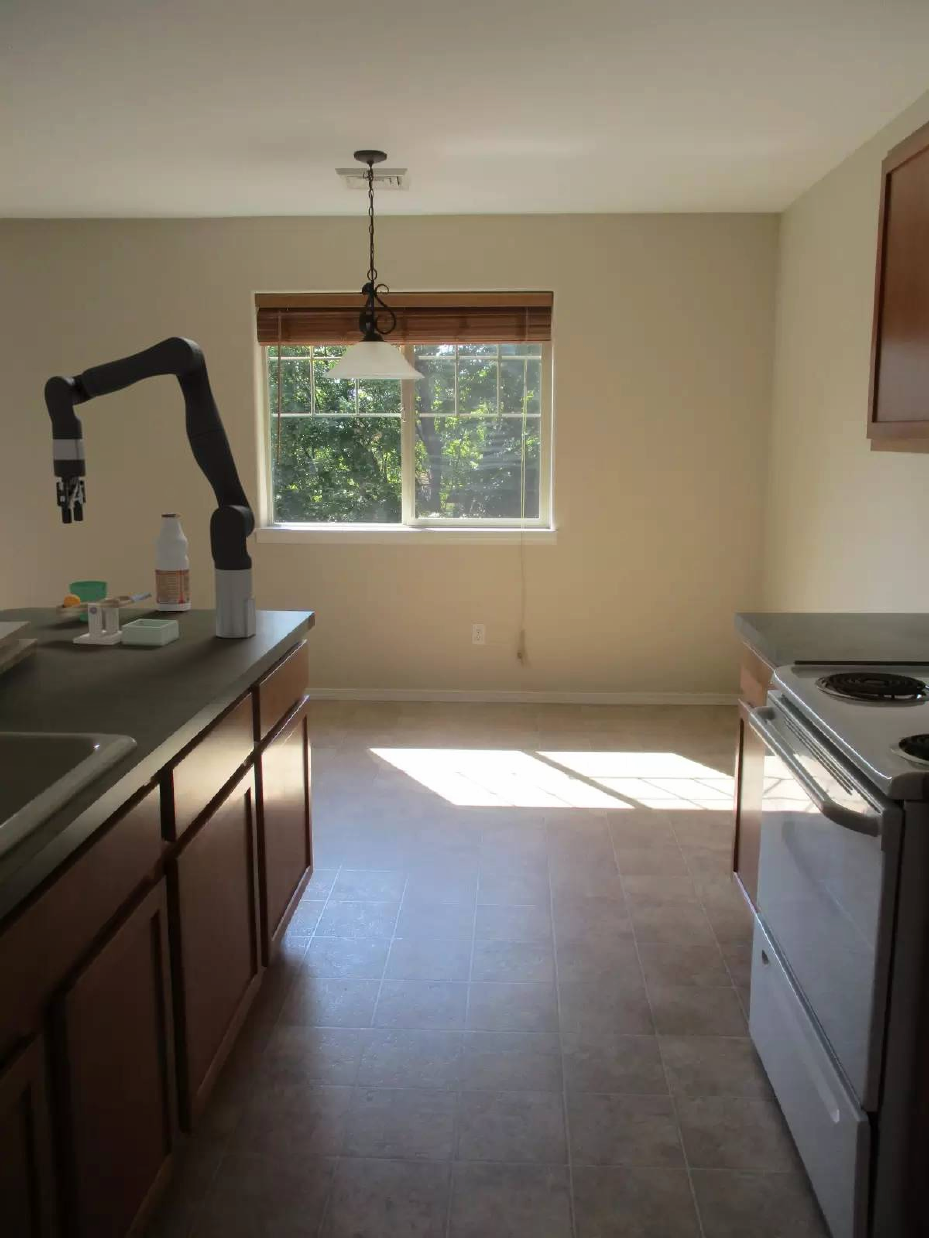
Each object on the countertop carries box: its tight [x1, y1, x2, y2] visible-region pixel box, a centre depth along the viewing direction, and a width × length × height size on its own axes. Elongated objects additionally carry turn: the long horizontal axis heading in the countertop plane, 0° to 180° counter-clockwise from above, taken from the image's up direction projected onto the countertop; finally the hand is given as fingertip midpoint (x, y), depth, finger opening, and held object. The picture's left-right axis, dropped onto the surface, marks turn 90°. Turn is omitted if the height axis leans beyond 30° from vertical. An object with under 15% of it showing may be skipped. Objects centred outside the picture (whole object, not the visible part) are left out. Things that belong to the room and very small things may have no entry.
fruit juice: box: [154, 512, 191, 612], centre depth 289 cm, size 9×9×28 cm
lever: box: [55, 592, 152, 619], centre depth 252 cm, size 17×17×3 cm
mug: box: [68, 580, 109, 622], centre depth 275 cm, size 15×10×10 cm
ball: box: [62, 593, 81, 608], centre depth 248 cm, size 4×4×4 cm
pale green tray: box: [121, 618, 180, 647], centre depth 247 cm, size 10×10×4 cm
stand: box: [72, 597, 122, 646], centre depth 248 cm, size 10×12×10 cm
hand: (73, 522), depth 257 cm, fingers open, 8 cm apart
